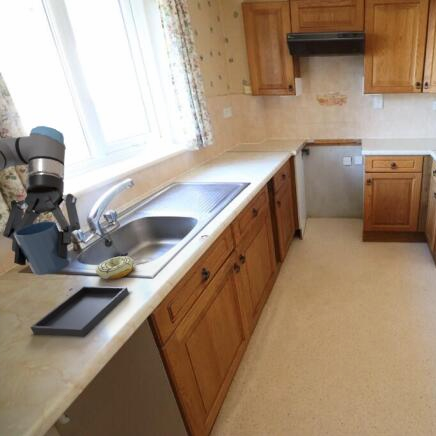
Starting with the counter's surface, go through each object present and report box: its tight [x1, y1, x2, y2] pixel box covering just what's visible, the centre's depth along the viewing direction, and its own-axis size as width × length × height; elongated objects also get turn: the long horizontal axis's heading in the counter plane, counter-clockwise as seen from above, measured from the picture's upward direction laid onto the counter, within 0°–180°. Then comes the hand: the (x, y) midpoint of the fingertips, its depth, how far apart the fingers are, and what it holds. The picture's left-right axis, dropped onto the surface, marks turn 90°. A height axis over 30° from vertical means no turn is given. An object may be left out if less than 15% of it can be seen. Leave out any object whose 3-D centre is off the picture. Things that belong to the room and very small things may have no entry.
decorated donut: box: [95, 255, 135, 281], centre depth 106 cm, size 10×11×4 cm
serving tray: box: [29, 285, 130, 338], centre depth 89 cm, size 17×14×2 cm
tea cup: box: [14, 220, 74, 276], centre depth 82 cm, size 8×8×11 cm
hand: (41, 260), depth 80 cm, fingers closed on tea cup, 8 cm apart
